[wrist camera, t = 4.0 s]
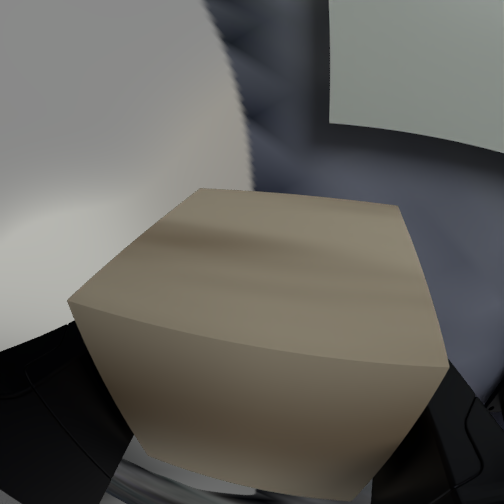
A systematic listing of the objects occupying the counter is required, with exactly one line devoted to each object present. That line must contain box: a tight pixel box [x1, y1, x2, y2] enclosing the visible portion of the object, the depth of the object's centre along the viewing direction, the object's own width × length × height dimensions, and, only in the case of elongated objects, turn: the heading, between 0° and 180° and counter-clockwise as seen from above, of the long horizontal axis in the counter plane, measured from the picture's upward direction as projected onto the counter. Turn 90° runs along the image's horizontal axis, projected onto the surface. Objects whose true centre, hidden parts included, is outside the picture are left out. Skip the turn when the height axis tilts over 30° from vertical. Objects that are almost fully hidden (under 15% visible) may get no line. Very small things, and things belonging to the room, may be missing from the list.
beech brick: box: [67, 188, 449, 501], centre depth 7 cm, size 5×5×5 cm
